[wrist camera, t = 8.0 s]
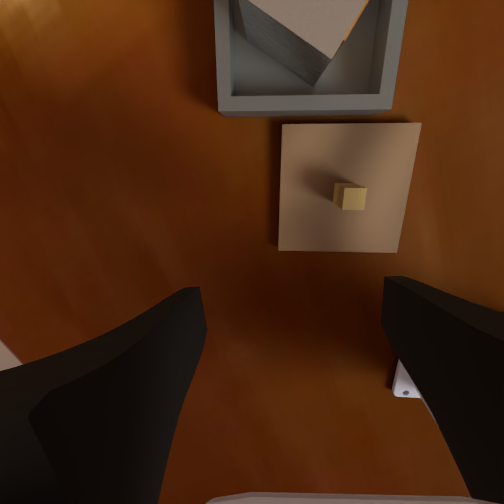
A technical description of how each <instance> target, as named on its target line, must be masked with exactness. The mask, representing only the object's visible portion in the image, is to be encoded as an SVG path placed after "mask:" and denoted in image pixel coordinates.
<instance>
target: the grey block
mask: <svg viewBox="0 0 504 504" xmlns="http://www.w3.org/2000/svg"><path fill="white" fill-rule="evenodd" d="M368 1H369V0H239V4H240V9H241V13H242V18H243V23H244V27H245V32H246V36H247V41H248V42H249V43H251V44H252V45H254V46H255V47H257V48H258V49H259V50H261V51H262V52H264V53H265V54H267V55H268V56H270V57H271V58H273V59H274V60H276V61H277V62H278V63H280V64H281V65H283V66H284V67H286V68H287V69H289V70H290V71H292V72H293V73H295V74H296V75H297V76H299V77H300V78H302V79H303V80H305V81H306V82H308V83H309V84H311V85H312V86H314V85H315V84H316V82H317V81H318V79H319V78H320V76H321V75H322V73H323V72H324V70H325V69H326V67H327V66H328V64H329V63H331V61H332V60H333V58H334V57H335V55H336V54H337V52H338V51H339V49H340V48H341V46H342V45H343V43H344V42H345V40H346V39H347V37H348V35H349V33H350V32H351V30H352V28H353V27H354V25H355V23H356V22H357V20H358V18H359V16H360V15H361V13H362V11H363V10H364V8H365V6H366V5H367V3H368Z"/></svg>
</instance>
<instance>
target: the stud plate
mask: <svg viewBox="0 0 504 504" xmlns="http://www.w3.org/2000/svg"><path fill="white" fill-rule="evenodd" d="M421 124H422V123H350V124H282V138H281V169H280V201H279V233H278V251H328V252H380V253H397V249H398V244H399V239H400V234H401V228H402V223H403V218H404V213H405V208H406V202H407V197H408V192H409V187H410V181H411V176H412V171H413V166H414V161H415V155H416V150H417V145H418V140H419V134H420V129H421Z"/></svg>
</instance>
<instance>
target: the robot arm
mask: <svg viewBox="0 0 504 504" xmlns="http://www.w3.org/2000/svg"><path fill="white" fill-rule="evenodd" d="M381 324H382V326H383V329H384V331H385V334H386V336H387V338H388V340H389V343H390V345H391V347H392V348H393V350H394V352H395V353H396V355H397V357H398V358H399V360H398V364H397V369H396V373H395V378H394V382H393V386H392V392H393V394H394V395H395V396H398V397H414V398H421V399H422V400H423V402H424V404H425V405H426V407H427V409H428V410H429V412H430V413H431V415H432V417H433V418H434V420H435V422H436V423H437V425H438V427H439V428H440V430H441V432H442V434H443V436H444V439H445V441H446V443H447V445H448V447H449V449H450V451H451V453H452V455H453V458H454V460H455V462H456V464H457V466H458V468H459V470H460V473H461V475H462V477H463V479H464V481H465V484H466V486H467V488H468V490H469V493H470V495H471V497H470V498H467V497H458V496H411V495H363V494H316V493H268V492H249V493H243V494H237V495H230V496H224V497H217V498H213V499H212V500H210V501H209V502H207V503H206V504H504V313H501V312H498V311H495V310H492V309H489V308H486V307H483V306H480V305H477V304H475V303H472V302H469V301H466V300H464V299H461V298H458V297H456V296H453V295H451V294H448V293H446V292H443V291H441V290H438V289H436V288H433V287H431V286H428V285H426V284H423V283H421V282H418V281H416V280H413V279H410V278H407V277H403V276H393V277H385V278H384V291H383V304H382V317H381ZM206 333H207V326H206V320H205V315H204V309H203V303H202V298H201V292H200V287H187V288H183V289H181V290H179V291H177V292H176V293H174V294H172V295H171V296H169V297H168V298H166V299H165V300H163V301H161V302H160V303H158V304H157V305H155V306H154V307H152V308H150V309H149V310H147V311H145V312H144V313H142V314H140V315H139V316H137V317H135V318H134V319H132V320H130V321H128V322H127V323H125V324H123V325H121V326H119V327H117V328H115V329H113V330H111V331H109V332H107V333H105V334H103V335H101V336H99V337H97V338H94V339H92V340H90V341H87V342H85V343H82V344H80V345H77V346H75V347H72V348H70V349H67V350H65V351H62V352H60V353H57V354H54V355H51V356H48V357H45V358H42V359H39V360H36V361H33V362H30V363H27V364H24V365H20V366H17V367H14V368H10V369H6V370H3V371H0V504H158V500H159V495H160V490H161V486H162V481H163V477H164V473H165V468H166V464H167V460H168V456H169V452H170V448H171V444H172V440H173V436H174V432H175V429H176V425H177V421H178V417H179V414H180V411H181V408H182V405H183V402H184V399H185V397H186V394H187V391H188V389H189V386H190V383H191V381H192V378H193V375H194V373H195V370H196V367H197V365H198V362H199V359H200V357H201V354H202V351H203V347H204V342H205V338H206Z"/></svg>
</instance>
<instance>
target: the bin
mask: <svg viewBox="0 0 504 504" xmlns="http://www.w3.org/2000/svg"><path fill="white" fill-rule="evenodd" d="M407 5H408V0H369V1H368V3H367V5H366V6H365V8H364V10H363V11H362V13H361V15H360V16H359V18H358V20H357V22H356V23H355V25H354V27H353V28H352V30H351V32H350V33H349V35H348V37H347V39H346V40H345V42H344V43H343V45H342V46H341V48H340V49H339V51H338V52H337V54H336V55H335V57H334V58H333V60H332V61H331V63H329V64H328V66H327V67H326V69H325V70H324V72H323V73H322V75H321V76H320V78H319V79H318V81H317V82H316V84H315V85H314V86H312V85H311V84H309V83H308V82H306V81H305V80H303V79H302V78H300V77H299V76H297V75H296V74H295V73H293V72H292V71H290V70H289V69H287V68H286V67H284V66H283V65H281V64H280V63H278V62H277V61H276V60H274V59H273V58H271V57H270V56H268V55H267V54H265V53H264V52H262V51H261V50H259V49H258V48H257V47H255V46H254V45H252V44H251V43H249V42H248V41H247V36H246V32H245V27H244V23H243V18H242V13H241V9H240V4H239V0H214V19H215V43H216V68H217V92H218V112H220V113H221V114H222V115H224V116H225V117H274V116H363V115H376V114H379V113H382V112H385V111H388V110H391V109H392V102H393V96H394V89H395V83H396V76H397V70H398V63H399V57H400V50H401V44H402V37H403V31H404V24H405V18H406V11H407Z"/></svg>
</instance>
